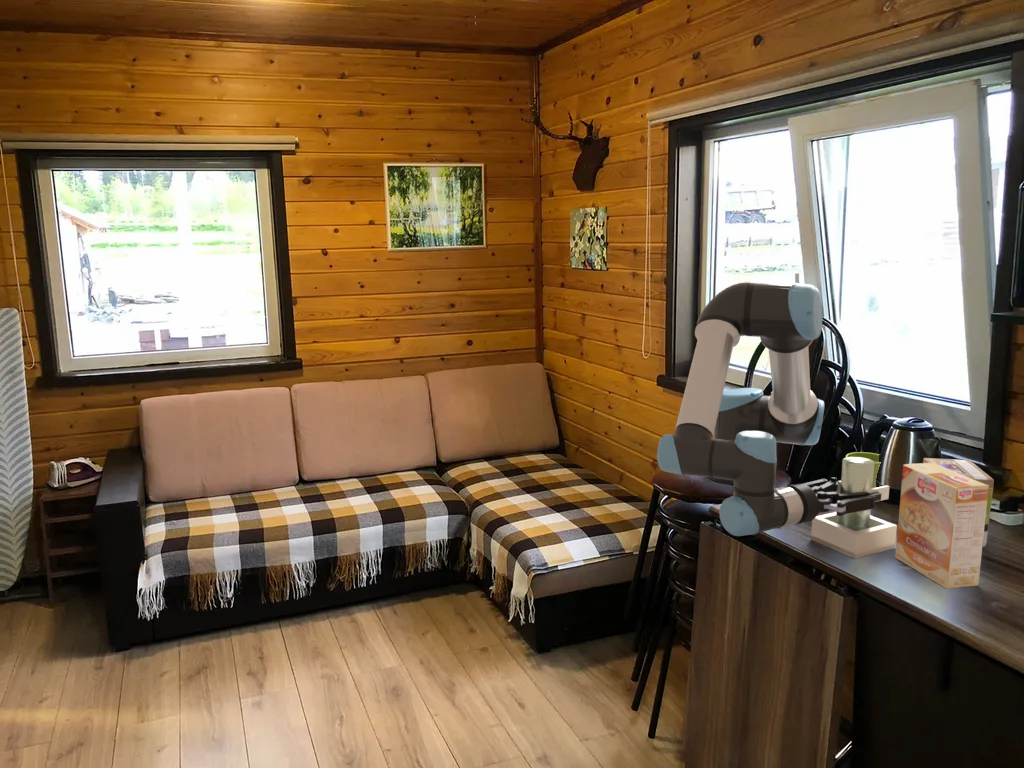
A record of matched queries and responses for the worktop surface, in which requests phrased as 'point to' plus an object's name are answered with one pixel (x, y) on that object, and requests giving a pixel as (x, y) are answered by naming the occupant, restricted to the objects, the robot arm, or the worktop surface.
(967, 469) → the tea box
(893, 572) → the worktop surface
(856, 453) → the plant pot
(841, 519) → the canister
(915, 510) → the coffeecake box
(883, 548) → the well
